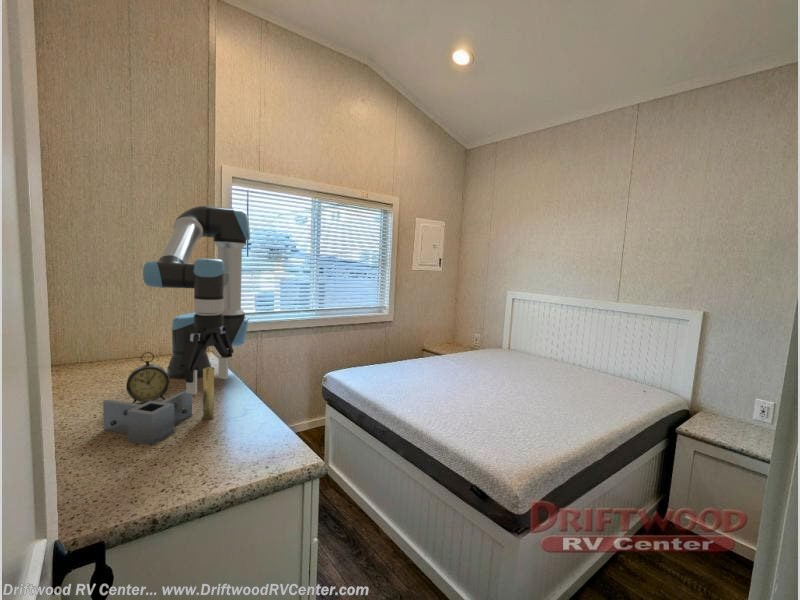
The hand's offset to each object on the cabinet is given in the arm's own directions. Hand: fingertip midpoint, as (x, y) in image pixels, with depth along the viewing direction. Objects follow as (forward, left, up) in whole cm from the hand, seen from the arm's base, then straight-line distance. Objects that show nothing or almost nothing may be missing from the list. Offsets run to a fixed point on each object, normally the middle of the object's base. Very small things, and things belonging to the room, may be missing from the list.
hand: (208, 385), depth 110 cm
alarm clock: (-4, -24, -10) cm, 26 cm away
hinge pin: (0, 0, -10) cm, 10 cm away
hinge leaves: (+9, -11, -10) cm, 17 cm away
